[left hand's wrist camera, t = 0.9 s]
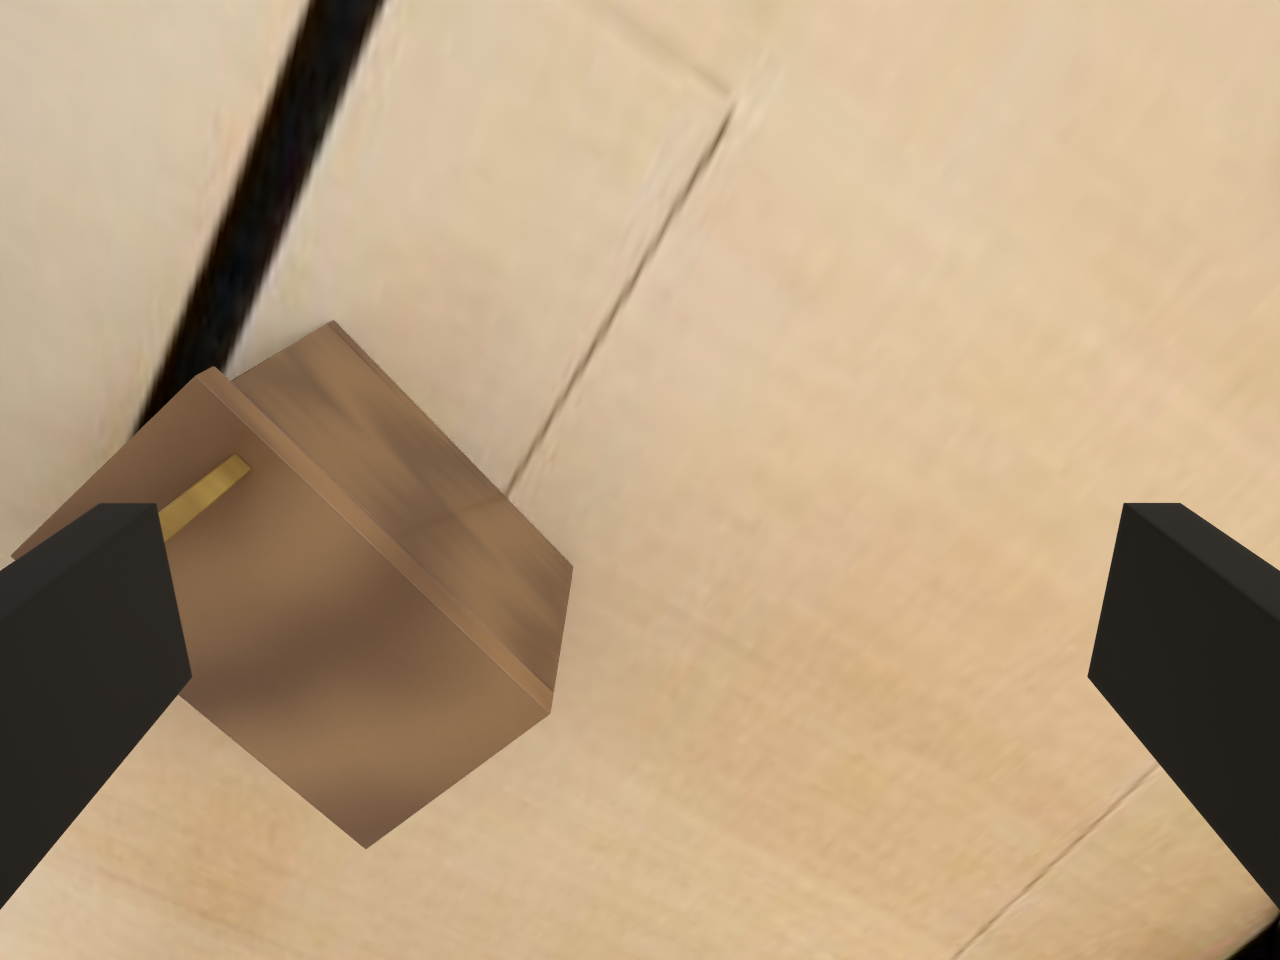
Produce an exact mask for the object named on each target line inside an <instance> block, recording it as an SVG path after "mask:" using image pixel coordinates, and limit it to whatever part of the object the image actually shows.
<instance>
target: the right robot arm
mask: <svg viewBox="0 0 1280 960" xmlns="http://www.w3.org/2000/svg"><path fill="white" fill-rule="evenodd" d="M1272 960H1280V920H1279V923H1278V925H1277V928H1276V931H1275V934H1274V939H1273V944H1272Z"/></svg>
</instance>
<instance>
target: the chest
mask: <svg viewBox="0 0 1280 960" xmlns="http://www.w3.org/2000/svg"><path fill="white" fill-rule="evenodd" d="M230 382H231V383H232V384H233V385H234V386H235V387H236V388H237V389H238V390H240V391H241V392H242V393H243V394H244V395H245V396H246V397H247V398H248V399H249V400H250V401H251V402H252V403H253V404H254V405H255V406H256V407H257V408H258V409H259V410H260V411H261V412H262V413H263V414H264V415H265V416H266V417H268V418H269V419H270V420H271V421H272V422H273V423H274V424H275V425H276V426H277V427H278V428H279V429H280V430H281V431H282V432H283V433H284V434H285V435H286V436H287V437H288V438H289V439H290V440H291V441H292V442H293V443H294V444H296V445H297V446H298V447H299V448H300V449H301V450H302V451H303V452H304V453H305V454H306V455H307V456H308V457H309V458H310V459H311V460H312V461H313V462H314V463H315V464H316V465H317V466H318V467H319V468H320V469H321V470H322V471H324V472H325V473H326V474H327V475H328V476H329V477H330V478H331V479H332V480H333V481H334V482H335V483H336V484H337V485H338V486H339V487H340V488H341V489H342V490H343V491H344V492H345V493H346V494H347V495H348V496H349V497H350V498H352V499H353V500H354V501H355V502H356V503H357V504H358V505H359V506H360V507H361V508H362V509H363V510H364V511H365V512H366V513H367V514H368V515H369V516H370V517H371V518H372V519H373V520H374V521H375V522H376V523H377V524H378V525H380V526H381V527H382V528H383V529H384V530H385V531H386V532H387V533H388V534H389V535H390V536H391V537H392V538H393V539H394V540H395V541H396V542H397V543H398V544H399V545H400V546H401V547H402V548H403V549H404V550H405V551H406V552H408V553H409V554H410V555H411V556H412V557H413V558H414V559H415V560H416V561H417V562H418V563H419V564H420V565H421V566H422V567H423V568H424V569H425V570H426V571H427V572H428V573H429V574H430V575H431V576H432V577H433V578H434V579H436V580H437V581H438V582H439V583H440V584H441V585H442V586H443V587H444V588H445V589H446V590H447V591H448V592H449V593H450V594H451V595H452V596H453V597H454V598H455V599H456V600H457V601H458V602H459V603H460V604H461V605H462V606H464V607H465V608H466V609H467V610H468V611H469V612H470V613H471V614H472V615H473V616H474V617H475V618H476V619H477V620H478V621H479V622H480V623H481V624H482V625H483V626H484V627H485V628H486V629H487V630H488V631H489V632H490V633H492V634H493V635H494V636H495V637H496V638H497V639H498V640H499V641H500V642H501V643H502V644H503V645H504V646H505V647H506V648H507V649H508V650H509V651H510V652H511V653H512V654H513V655H514V656H515V657H516V658H517V659H518V660H520V661H521V662H522V663H523V664H524V665H525V666H526V667H527V668H528V669H529V670H530V671H531V672H532V673H533V674H534V675H535V676H536V677H537V678H538V679H539V680H540V681H541V682H542V683H543V684H544V685H545V686H547V687H548V688H549V689H550V690H551V691H552V692H554V687H555V681H556V674H557V668H558V662H559V655H560V649H561V643H562V636H563V630H564V624H565V617H566V611H567V604H568V598H569V592H570V585H571V579H572V571H573V566H572V565H571V564H570V563H569V562H568V561H567V560H566V559H565V558H564V557H563V556H562V555H561V554H560V553H559V552H558V551H557V550H556V549H555V548H554V547H553V545H552V544H551V543H550V542H549V541H548V540H547V539H546V538H545V537H544V536H543V535H542V534H541V533H540V532H539V531H538V530H537V529H536V528H535V527H534V526H533V525H532V524H531V523H530V522H529V521H528V520H527V519H526V518H525V517H524V516H523V515H522V514H521V513H520V512H519V510H518V509H517V508H516V507H515V506H514V505H513V504H512V503H511V502H510V501H509V500H508V499H507V498H506V497H505V496H504V495H503V494H502V493H501V492H500V491H499V490H498V489H497V488H496V487H495V486H494V485H493V484H492V483H491V482H490V481H489V480H488V479H487V478H486V476H485V475H484V474H483V473H482V472H481V471H480V470H479V469H478V468H477V467H476V466H475V465H474V464H473V463H472V462H471V461H470V460H469V459H468V458H467V457H466V456H465V455H464V454H463V453H462V452H461V451H460V450H459V449H458V448H457V447H456V446H455V445H454V444H453V443H452V441H451V440H450V439H449V438H448V437H447V436H446V435H445V434H444V433H443V432H442V431H441V430H440V429H439V428H438V427H437V426H436V425H435V424H434V423H433V422H432V421H431V420H430V419H429V418H428V417H427V416H426V415H425V414H424V413H423V412H422V411H421V410H420V409H419V407H418V406H417V405H416V404H415V403H414V402H413V401H412V400H411V399H410V398H409V397H408V396H407V395H406V394H405V393H404V392H403V391H402V390H401V389H400V388H399V387H398V386H397V385H396V384H395V383H394V382H393V381H392V380H391V379H390V378H389V377H388V376H387V375H386V374H385V372H384V371H383V370H382V369H381V368H380V367H379V366H378V365H377V364H376V363H375V362H374V361H373V360H372V359H371V358H370V357H369V356H368V355H367V354H366V353H365V352H364V351H363V350H362V349H361V348H360V347H359V346H358V345H357V344H356V343H355V342H354V341H353V340H352V338H351V337H350V336H349V335H348V334H347V333H346V332H345V331H344V330H343V329H342V328H341V327H340V326H339V325H338V324H337V323H336V322H335V321H331V322H329V323H328V324H326V325H324V326H322V327H321V328H319V329H317V330H316V331H314V332H312V333H311V334H309V335H307V336H306V337H304V338H302V339H301V340H299V341H297V342H296V343H294V344H292V345H290V346H289V347H287V348H285V349H284V350H282V351H280V352H279V353H277V354H275V355H274V356H272V357H270V358H269V359H267V360H265V361H264V362H262V363H260V364H259V365H257V366H255V367H254V368H252V369H250V370H248V371H247V372H245V373H243V374H242V375H240V376H238V377H237V378H235V379H233V380H232V381H230Z"/></svg>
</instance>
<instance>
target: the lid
mask: <svg viewBox="0 0 1280 960" xmlns="http://www.w3.org/2000/svg"><path fill="white" fill-rule="evenodd" d="M99 503H156V504H157V509H158V514H159V519H160V524H161V528H162V533H163V538H164V543H165V548H166V552H167V557H168V562H169V567H170V572H171V576H172V581H173V586H174V591H175V596H176V600H177V605H178V610H179V615H180V620H181V624H182V629H183V634H184V639H185V644H186V648H187V653H188V658H189V663H190V668H191V672H192V678H191V679H190V680H189V682H188V683H187V684H186V685H185V686H184V688H183V689H182V690H181V691H180V693H179V694H178V695H179V696H181V697H182V698H183V699H184V700H186V701H187V702H188V703H189V704H190V705H192V706H193V707H194V708H195V709H196V710H198V711H199V712H200V713H201V714H202V715H204V716H205V717H206V718H207V719H209V720H210V721H211V722H212V723H213V724H215V725H216V726H217V727H218V728H219V729H221V730H222V731H223V732H224V733H225V734H227V735H228V736H229V737H230V738H232V739H233V740H234V741H235V742H236V743H238V744H239V745H240V746H241V747H242V748H244V749H245V750H246V751H247V752H249V753H250V754H251V755H252V756H253V757H255V758H256V759H257V760H258V761H259V762H261V763H262V764H263V765H264V766H265V767H267V768H268V769H269V770H270V771H272V772H273V773H274V774H275V775H276V776H278V777H279V778H280V779H281V780H282V781H284V782H285V783H286V784H287V785H289V786H290V787H291V788H292V789H293V790H295V791H296V792H297V793H298V794H299V795H301V796H302V797H303V798H304V799H305V800H307V801H308V802H309V803H310V804H312V805H313V806H314V807H315V808H316V809H318V810H319V811H320V812H321V813H322V814H324V815H325V816H326V817H327V818H329V819H330V820H331V821H332V822H333V823H335V824H336V825H337V826H338V827H339V828H341V829H342V830H343V831H344V832H345V833H347V834H348V835H349V836H350V837H352V838H353V839H354V840H355V841H356V842H358V843H359V844H360V845H361V846H362V847H364V848H365V849H367V848H368V847H370V846H371V845H372V844H374V843H375V842H376V841H378V840H379V839H381V838H382V837H383V836H385V835H386V834H387V833H389V832H390V831H391V830H393V829H394V828H395V827H397V826H398V825H400V824H401V823H402V822H404V821H405V820H406V819H408V818H409V817H410V816H412V815H413V814H415V813H416V812H417V811H419V810H420V809H421V808H423V807H424V806H425V805H427V804H428V803H429V802H431V801H432V800H434V799H435V798H436V797H438V796H439V795H440V794H442V793H443V792H444V791H446V790H447V789H449V788H450V787H451V786H453V785H454V784H455V783H457V782H458V781H459V780H461V779H462V778H463V777H465V776H466V775H468V774H469V773H470V772H472V771H473V770H474V769H476V768H477V767H478V766H480V765H481V764H483V763H484V762H485V761H487V760H488V759H489V758H491V757H492V756H493V755H495V754H496V753H497V752H499V751H500V750H502V749H503V748H504V747H506V746H507V745H508V744H510V743H511V742H512V741H514V740H515V739H516V738H518V737H519V736H521V735H522V734H523V733H525V732H526V731H527V730H529V729H530V728H531V727H533V726H534V725H536V724H537V723H538V722H540V721H541V720H542V719H544V718H545V717H546V716H548V715H549V714H550V713H551V706H552V700H553V692H552V691H551V690H550V689H549V688H548V687H547V686H545V685H544V684H543V683H542V682H541V681H540V680H539V679H538V678H537V677H536V676H535V675H534V674H533V673H532V672H531V671H530V670H529V669H528V668H527V667H526V666H525V665H524V664H523V663H522V662H521V661H520V660H518V659H517V658H516V657H515V656H514V655H513V654H512V653H511V652H510V651H509V650H508V649H507V648H506V647H505V646H504V645H503V644H502V643H501V642H500V641H499V640H498V639H497V638H496V637H495V636H494V635H493V634H492V633H490V632H489V631H488V630H487V629H486V628H485V627H484V626H483V625H482V624H481V623H480V622H479V621H478V620H477V619H476V618H475V617H474V616H473V615H472V614H471V613H470V612H469V611H468V610H467V609H466V608H465V607H464V606H462V605H461V604H460V603H459V602H458V601H457V600H456V599H455V598H454V597H453V596H452V595H451V594H450V593H449V592H448V591H447V590H446V589H445V588H444V587H443V586H442V585H441V584H440V583H439V582H438V581H437V580H436V579H434V578H433V577H432V576H431V575H430V574H429V573H428V572H427V571H426V570H425V569H424V568H423V567H422V566H421V565H420V564H419V563H418V562H417V561H416V560H415V559H414V558H413V557H412V556H411V555H410V554H409V553H408V552H406V551H405V550H404V549H403V548H402V547H401V546H400V545H399V544H398V543H397V542H396V541H395V540H394V539H393V538H392V537H391V536H390V535H389V534H388V533H387V532H386V531H385V530H384V529H383V528H382V527H381V526H380V525H378V524H377V523H376V522H375V521H374V520H373V519H372V518H371V517H370V516H369V515H368V514H367V513H366V512H365V511H364V510H363V509H362V508H361V507H360V506H359V505H358V504H357V503H356V502H355V501H354V500H353V499H352V498H350V497H349V496H348V495H347V494H346V493H345V492H344V491H343V490H342V489H341V488H340V487H339V486H338V485H337V484H336V483H335V482H334V481H333V480H332V479H331V478H330V477H329V476H328V475H327V474H326V473H325V472H324V471H322V470H321V469H320V468H319V467H318V466H317V465H316V464H315V463H314V462H313V461H312V460H311V459H310V458H309V457H308V456H307V455H306V454H305V453H304V452H303V451H302V450H301V449H300V448H299V447H298V446H297V445H296V444H294V443H293V442H292V441H291V440H290V439H289V438H288V437H287V436H286V435H285V434H284V433H283V432H282V431H281V430H280V429H279V428H278V427H277V426H276V425H275V424H274V423H273V422H272V421H271V420H270V419H269V418H268V417H266V416H265V415H264V414H263V413H262V412H261V411H260V410H259V409H258V408H257V407H256V406H255V405H254V404H253V403H252V402H251V401H250V400H249V399H248V398H247V397H246V396H245V395H244V394H243V393H242V392H241V391H240V390H238V389H237V388H236V387H235V386H234V385H233V384H232V383H231V382H230V381H229V380H228V379H227V378H226V377H225V376H224V375H223V374H222V373H221V372H220V371H219V370H218V369H217V368H216V367H214V366H213V367H211V368H209V369H207V370H205V371H204V372H202V373H200V374H198V375H196V376H195V377H194V378H193V379H192V380H191V381H190V382H189V383H188V384H187V385H186V386H185V387H184V388H182V389H181V390H180V391H179V392H178V393H177V394H176V395H175V396H174V397H173V398H172V399H171V400H170V401H169V402H168V403H167V404H166V405H165V406H164V407H163V408H162V409H161V410H160V411H159V412H158V413H157V414H156V415H155V416H154V417H153V418H152V419H151V420H150V421H149V422H148V423H146V424H145V425H144V426H143V427H142V428H141V429H140V430H139V431H138V432H137V433H136V434H135V435H134V436H133V437H132V438H131V439H130V440H129V441H128V442H127V443H126V444H125V445H124V446H123V447H122V448H121V449H120V450H119V451H118V452H117V453H116V454H115V455H114V456H113V457H112V458H111V459H109V460H108V461H107V462H106V463H105V464H104V465H103V466H102V467H101V468H100V469H99V470H98V471H97V472H96V473H95V474H94V475H93V476H92V477H91V478H90V479H89V480H88V481H87V482H86V483H85V484H84V485H83V486H82V487H81V488H80V489H79V490H78V491H77V492H76V493H75V494H73V495H72V496H71V497H70V498H69V499H68V500H67V501H66V502H65V503H64V504H63V505H62V506H61V507H60V508H59V509H58V510H57V511H56V512H55V513H54V514H53V515H52V516H51V517H50V518H49V519H48V520H47V521H46V522H45V523H44V524H43V525H42V526H41V527H40V528H39V529H37V530H36V531H35V532H34V533H33V534H32V535H31V536H30V537H29V538H28V539H27V540H26V541H25V542H24V543H23V544H22V545H21V546H20V547H19V548H18V549H17V550H16V551H15V552H14V553H13V554H12V555H11V557H12V558H13V559H15V560H17V559H18V558H20V557H21V556H23V555H24V554H26V553H27V552H29V551H30V550H32V549H33V548H35V547H36V546H38V545H39V544H40V543H42V542H43V541H45V540H46V539H48V538H49V537H51V536H52V535H54V534H55V533H57V532H58V531H60V530H61V529H62V528H64V527H65V526H67V525H68V524H70V523H71V522H73V521H74V520H76V519H77V518H79V517H80V516H82V515H83V514H84V513H86V512H87V511H89V510H90V509H92V508H93V507H95V506H96V505H98V504H99Z"/></svg>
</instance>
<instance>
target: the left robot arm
mask: <svg viewBox="0 0 1280 960" xmlns="http://www.w3.org/2000/svg"><path fill="white" fill-rule="evenodd" d="M191 678H192V672H191V668H190V663H189V658H188V653H187V648H186V644H185V639H184V634H183V629H182V624H181V620H180V615H179V610H178V605H177V600H176V596H175V591H174V586H173V581H172V576H171V572H170V567H169V562H168V557H167V552H166V548H165V543H164V538H163V533H162V528H161V524H160V519H159V514H158V509H157V504H156V503H99V504H98V505H96V506H95V507H93V508H92V509H90V510H89V511H87V512H86V513H84V514H83V515H82V516H80V517H79V518H77V519H76V520H74V521H73V522H71V523H70V524H68V525H67V526H65V527H64V528H62V529H61V530H60V531H58V532H57V533H55V534H54V535H52V536H51V537H49V538H48V539H46V540H45V541H43V542H42V543H40V544H39V545H38V546H36V547H35V548H33V549H32V550H30V551H29V552H27V553H26V554H24V555H23V556H21V557H20V558H18V559H17V560H16V561H14V562H13V563H11V564H10V565H8V566H7V567H5V568H4V569H2V570H1V571H0V909H1V908H2V907H3V906H4V905H5V903H6V902H7V901H8V900H9V899H10V897H11V896H12V895H13V894H14V892H15V891H16V890H17V889H18V888H19V886H20V885H21V884H22V883H23V882H24V880H25V879H26V878H27V877H28V876H29V874H30V873H31V872H32V871H33V869H34V868H35V867H36V866H37V865H38V863H39V862H40V861H41V860H42V859H43V857H44V856H45V855H46V854H47V852H48V851H49V850H50V849H51V848H52V846H53V845H54V844H55V843H56V842H57V840H58V839H59V838H60V837H61V836H62V834H63V833H64V832H65V831H66V829H67V828H68V827H69V826H70V825H71V823H72V822H73V821H74V820H75V819H76V817H77V816H78V815H79V814H80V813H81V811H82V810H83V809H84V808H85V806H86V805H87V804H88V803H89V802H90V800H91V799H92V798H93V797H94V796H95V794H96V793H97V792H98V791H99V789H100V788H101V787H102V786H103V785H104V783H105V782H106V781H107V780H108V779H109V777H110V776H111V775H112V774H113V773H114V771H115V770H116V769H117V768H118V766H119V765H120V764H121V763H122V762H123V760H124V759H125V758H126V757H127V756H128V754H129V753H130V752H131V751H132V750H133V748H134V747H135V746H136V745H137V743H138V742H139V741H140V740H141V739H142V737H143V736H144V735H145V734H146V733H147V731H148V730H149V729H150V728H151V726H152V725H153V724H154V723H155V722H156V720H157V719H158V718H159V717H160V716H161V714H162V713H163V712H164V711H165V710H166V708H167V707H168V706H169V705H170V703H171V702H172V701H173V700H174V699H175V697H176V696H177V695H178V694H179V693H180V691H181V690H182V689H183V688H184V686H185V685H186V684H187V683H188V682H189V680H190V679H191ZM1088 678H1089V679H1090V680H1091V682H1092V683H1093V684H1094V685H1095V686H1096V688H1097V689H1098V690H1099V691H1100V693H1101V694H1102V695H1103V696H1104V697H1105V699H1106V700H1107V701H1108V702H1109V703H1110V705H1111V706H1112V707H1113V708H1114V710H1115V711H1116V712H1117V713H1118V714H1119V716H1120V717H1121V718H1122V719H1123V720H1124V722H1125V723H1126V724H1127V725H1128V726H1129V728H1130V729H1131V730H1132V731H1133V733H1134V734H1135V735H1136V736H1137V737H1138V739H1139V740H1140V741H1141V742H1142V743H1143V745H1144V746H1145V747H1146V748H1147V750H1148V751H1149V752H1150V753H1151V754H1152V756H1153V757H1154V758H1155V759H1156V760H1157V762H1158V763H1159V764H1160V765H1161V766H1162V768H1163V769H1164V770H1165V771H1166V773H1167V774H1168V775H1169V776H1170V777H1171V779H1172V780H1173V781H1174V782H1175V783H1176V785H1177V786H1178V787H1179V788H1180V789H1181V791H1182V792H1183V793H1184V794H1185V796H1186V797H1187V798H1188V799H1189V800H1190V802H1191V803H1192V804H1193V805H1194V806H1195V808H1196V809H1197V810H1198V811H1199V813H1200V814H1201V815H1202V816H1203V817H1204V819H1205V820H1206V821H1207V822H1208V823H1209V825H1210V826H1211V827H1212V828H1213V829H1214V831H1215V832H1216V833H1217V834H1218V836H1219V837H1220V838H1221V839H1222V840H1223V842H1224V843H1225V844H1226V845H1227V846H1228V848H1229V849H1230V850H1231V851H1232V852H1233V854H1234V855H1235V856H1236V857H1237V859H1238V860H1239V861H1240V862H1241V863H1242V865H1243V866H1244V867H1245V868H1246V869H1247V871H1248V872H1249V873H1250V874H1251V876H1252V877H1253V878H1254V879H1255V880H1256V882H1257V883H1258V884H1259V885H1260V886H1261V888H1262V889H1263V890H1264V891H1265V892H1266V894H1267V895H1268V896H1269V897H1270V899H1271V900H1272V901H1273V902H1274V903H1275V905H1276V906H1277V907H1278V908H1279V909H1280V571H1279V570H1278V569H1276V568H1275V567H1273V566H1272V565H1270V564H1269V563H1267V562H1266V561H1264V560H1263V559H1262V558H1260V557H1259V556H1257V555H1256V554H1254V553H1253V552H1251V551H1250V550H1248V549H1247V548H1245V547H1244V546H1242V545H1241V544H1240V543H1238V542H1237V541H1235V540H1234V539H1232V538H1231V537H1229V536H1228V535H1226V534H1225V533H1223V532H1222V531H1220V530H1219V529H1218V528H1216V527H1215V526H1213V525H1212V524H1210V523H1209V522H1207V521H1206V520H1204V519H1203V518H1201V517H1200V516H1198V515H1197V514H1196V513H1194V512H1193V511H1191V510H1190V509H1188V508H1187V507H1185V506H1184V505H1182V504H1181V503H1124V504H1123V509H1122V514H1121V519H1120V524H1119V528H1118V533H1117V538H1116V543H1115V548H1114V552H1113V557H1112V562H1111V567H1110V572H1109V576H1108V581H1107V586H1106V591H1105V596H1104V600H1103V605H1102V610H1101V615H1100V620H1099V624H1098V629H1097V634H1096V639H1095V644H1094V648H1093V653H1092V658H1091V663H1090V668H1089V672H1088Z"/></svg>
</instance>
